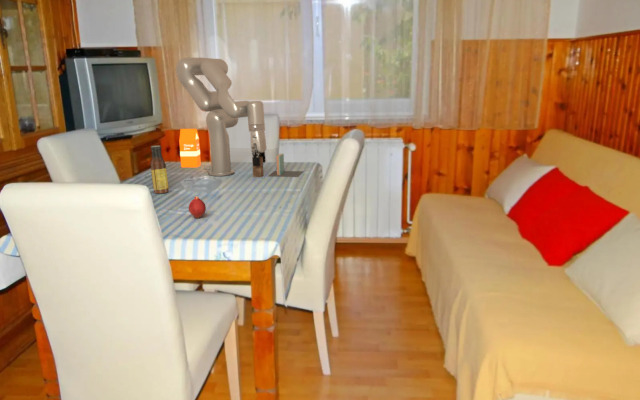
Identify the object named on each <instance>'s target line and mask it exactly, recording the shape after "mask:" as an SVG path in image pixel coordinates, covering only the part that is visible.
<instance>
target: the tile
mask: <svg viewBox="0 0 640 400" xmlns="http://www.w3.org/2000/svg"><path fill="white" fill-rule="evenodd" d="M275 158H276V171H277V175H281V174H282V173H283V172H284V171H285V160H284V159H285V154H284V153H279V154H278V155H276V157H275Z"/></svg>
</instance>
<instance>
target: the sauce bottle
mask: <svg viewBox="0 0 640 400" xmlns="http://www.w3.org/2000/svg"><path fill="white" fill-rule="evenodd" d="M150 150H151V161H150V173H151V181H152V189H153V193H154V194H158V195H159V194H160V195H161V194H166V193H168V192H169V191H170V190H169V180H168V179H169V178H168V171H167V164H166V163H165V160H164V158H163V155H162V146H161V145H151V146H150Z"/></svg>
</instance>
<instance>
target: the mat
mask: <svg viewBox="0 0 640 400" xmlns="http://www.w3.org/2000/svg"><path fill="white" fill-rule="evenodd" d="M303 173H304V170H294V171H293V170H284V172H283V173H282V174H281V175H277V170H274V171H272V172H271V173H270V174H269V175H268V177H275V178H278V177H279V178H282V177H283V178H299V177H300V176H301V175H302V174H303Z"/></svg>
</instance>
